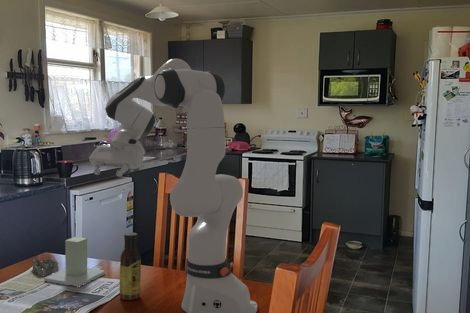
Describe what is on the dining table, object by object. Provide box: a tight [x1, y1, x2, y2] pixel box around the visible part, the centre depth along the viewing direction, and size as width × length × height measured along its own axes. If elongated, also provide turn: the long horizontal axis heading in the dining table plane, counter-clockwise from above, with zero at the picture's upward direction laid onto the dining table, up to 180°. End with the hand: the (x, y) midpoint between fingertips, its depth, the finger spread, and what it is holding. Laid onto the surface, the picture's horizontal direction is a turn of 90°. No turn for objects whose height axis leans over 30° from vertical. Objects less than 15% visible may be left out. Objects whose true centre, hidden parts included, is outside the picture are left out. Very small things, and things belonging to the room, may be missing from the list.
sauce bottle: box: [119, 232, 142, 301], centre depth 141 cm, size 6×6×20 cm
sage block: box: [64, 236, 88, 277], centre depth 157 cm, size 5×5×12 cm
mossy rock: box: [32, 257, 59, 276], centre depth 163 cm, size 11×8×4 cm
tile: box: [43, 267, 106, 288], centre depth 157 cm, size 14×14×1 cm
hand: (107, 174), depth 165 cm, fingers open, 8 cm apart
